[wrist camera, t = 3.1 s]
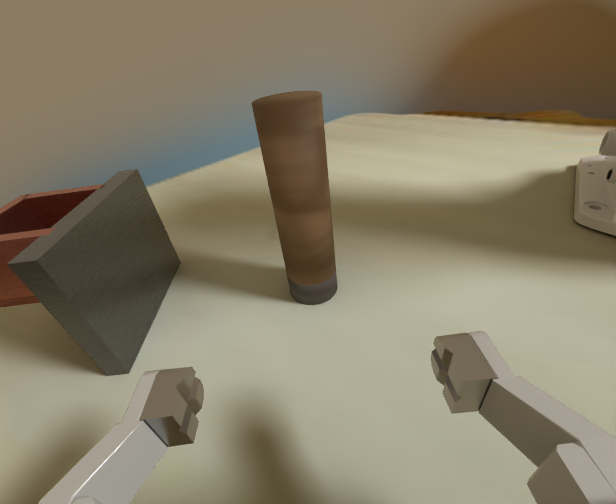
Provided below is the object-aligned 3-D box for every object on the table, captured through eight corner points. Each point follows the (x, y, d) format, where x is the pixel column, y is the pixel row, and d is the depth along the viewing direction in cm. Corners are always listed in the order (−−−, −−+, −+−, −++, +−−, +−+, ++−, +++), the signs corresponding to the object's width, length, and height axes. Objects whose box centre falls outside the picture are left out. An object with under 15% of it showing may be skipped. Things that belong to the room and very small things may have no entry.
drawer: (128, 373, 20) (37, 260, 14) (16, 386, 20) (-118, 280, 15) (180, 262, 30) (137, 169, 24) (103, 271, 30) (43, 181, 24)
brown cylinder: (302, 269, 27) (272, 92, 19) (343, 276, 25) (331, 89, 17) (282, 298, 24) (237, 107, 16) (327, 309, 23) (303, 105, 14)
